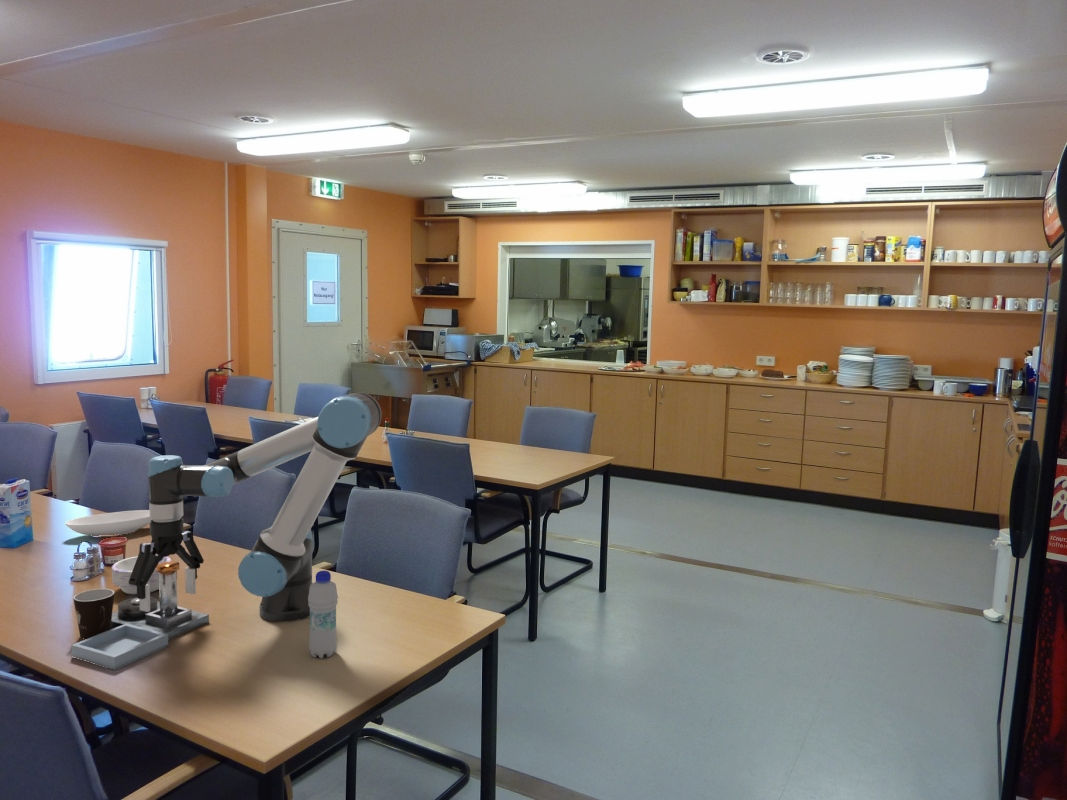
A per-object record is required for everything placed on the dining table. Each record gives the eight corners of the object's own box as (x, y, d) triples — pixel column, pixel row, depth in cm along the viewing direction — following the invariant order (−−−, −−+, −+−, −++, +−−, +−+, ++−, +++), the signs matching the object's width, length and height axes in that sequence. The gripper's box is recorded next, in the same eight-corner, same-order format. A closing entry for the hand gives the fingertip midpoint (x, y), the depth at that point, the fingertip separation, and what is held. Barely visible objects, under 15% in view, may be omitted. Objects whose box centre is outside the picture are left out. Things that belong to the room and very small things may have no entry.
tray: (168, 646, 180) (167, 634, 179) (114, 670, 167) (114, 657, 167) (126, 635, 185) (126, 623, 185) (71, 657, 173) (71, 644, 172)
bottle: (326, 645, 182) (326, 564, 180) (343, 653, 178) (343, 571, 176) (302, 654, 177) (301, 571, 175) (319, 663, 173) (319, 578, 171)
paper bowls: (99, 595, 211) (98, 567, 210) (139, 577, 226) (139, 551, 225) (146, 601, 208) (145, 573, 207) (184, 583, 222) (183, 556, 222)
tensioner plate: (209, 622, 195) (208, 602, 194) (162, 642, 182) (162, 621, 181) (147, 607, 203) (147, 588, 203) (99, 625, 191) (99, 605, 190)
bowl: (155, 523, 285) (154, 507, 285) (165, 532, 274) (165, 515, 273) (62, 535, 266) (61, 518, 266) (69, 546, 255) (68, 528, 254)
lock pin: (185, 617, 192) (183, 563, 190) (167, 625, 187) (166, 569, 186) (170, 614, 194) (168, 560, 192) (152, 621, 189) (151, 566, 188)
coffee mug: (78, 629, 188) (77, 590, 187) (118, 625, 191) (116, 587, 190) (68, 649, 177) (67, 607, 176) (110, 644, 180) (109, 603, 179)
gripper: (196, 506, 201) (197, 583, 203) (110, 528, 178) (112, 615, 180) (217, 509, 198) (218, 588, 200) (132, 532, 175) (135, 621, 177)
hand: (168, 601), depth 190 cm, fingers open, 13 cm apart
